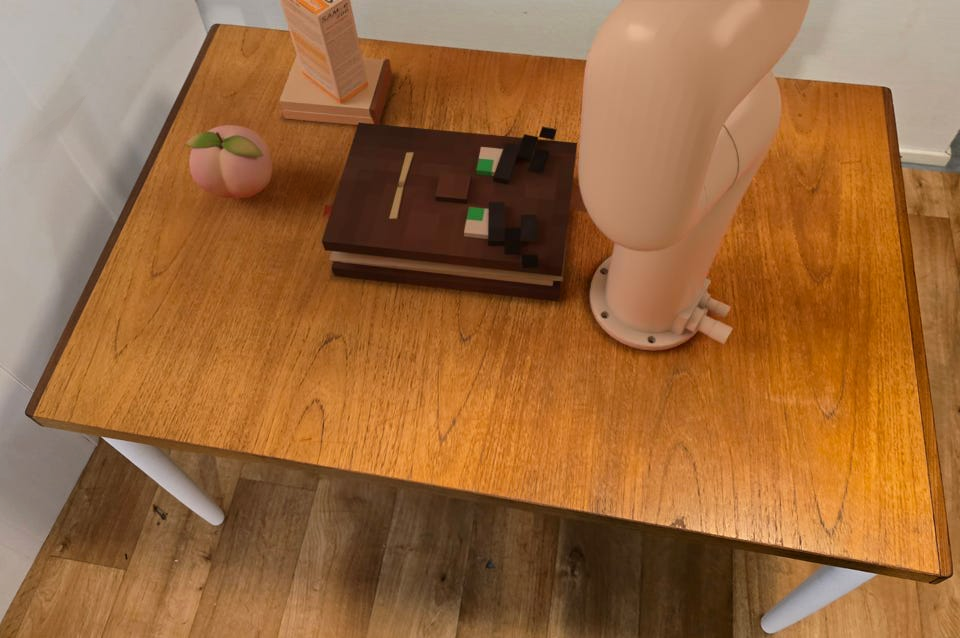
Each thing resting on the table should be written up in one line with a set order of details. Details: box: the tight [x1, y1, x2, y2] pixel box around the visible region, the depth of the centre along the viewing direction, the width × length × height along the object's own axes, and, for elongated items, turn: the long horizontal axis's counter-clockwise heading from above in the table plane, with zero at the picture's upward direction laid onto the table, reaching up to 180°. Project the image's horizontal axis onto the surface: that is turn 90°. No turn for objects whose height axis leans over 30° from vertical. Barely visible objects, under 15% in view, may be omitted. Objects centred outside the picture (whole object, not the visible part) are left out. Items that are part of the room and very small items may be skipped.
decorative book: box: [321, 123, 589, 303], centre depth 83 cm, size 19×8×30 cm
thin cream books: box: [278, 55, 393, 126], centre depth 96 cm, size 12×9×3 cm
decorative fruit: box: [185, 124, 273, 199], centre depth 86 cm, size 9×8×10 cm
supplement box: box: [279, 0, 368, 104], centre depth 89 cm, size 8×5×13 cm, turn 45°
